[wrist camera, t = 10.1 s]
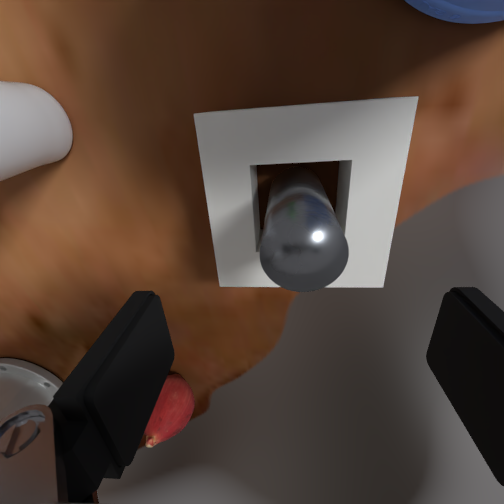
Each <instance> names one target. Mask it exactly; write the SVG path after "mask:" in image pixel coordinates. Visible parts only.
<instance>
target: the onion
mask: <svg viewBox="0 0 504 504" xmlns="http://www.w3.org/2000/svg"><path fill="white" fill-rule="evenodd" d="M194 404H195V400H194V396H193V393H192V389H191V387H190V386H189V384H188V383H187V382H186V381H185V380H184V379H183V378H182V376H181V375H180V374H172V375H167V378H166V380H165V383H164V385H163V388H162V390H161V393H160V395H159V397H158V400H157V402H156V405H155V407H154V410H153V412H152V415H151V417H150V419H149V422H148V424H147V427H146V429H145V432H144V433H145V435H146V436H147V438H146V446H147V447H153V446H154V445H155V444H158V443H160V442H162V441H165V440H168V439H169V438H171V437H173V436H174V435H176V434H178V433H179V432H181V430H183V429H184V428H185V426H186V425H187V423H188V421H189V419H190V417H191V415H192V412H193V410H194Z"/></svg>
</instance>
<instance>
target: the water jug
mask: <svg viewBox="0 0 504 504" xmlns="http://www.w3.org/2000/svg"><path fill="white" fill-rule="evenodd" d="M404 1H406V2H407V3H408V4H410V5H411V6H412V7H414V8H416V9H417V10H419V11H421V12H423V13H425V14H427V15H429V16H432V17H435V18H437V19H441V20H445V21H449V22H455V23H466V24H479V23H490V22H497V21H502V20H504V0H404Z"/></svg>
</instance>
